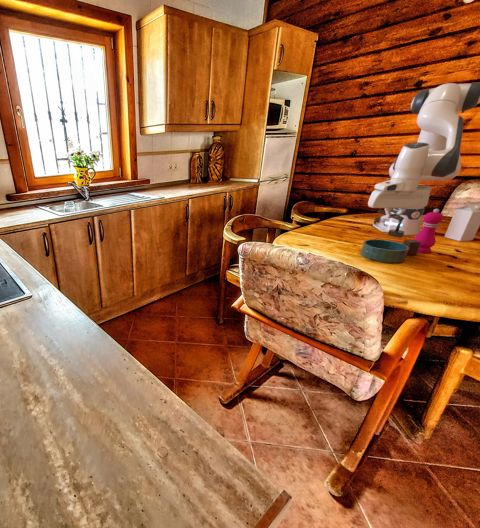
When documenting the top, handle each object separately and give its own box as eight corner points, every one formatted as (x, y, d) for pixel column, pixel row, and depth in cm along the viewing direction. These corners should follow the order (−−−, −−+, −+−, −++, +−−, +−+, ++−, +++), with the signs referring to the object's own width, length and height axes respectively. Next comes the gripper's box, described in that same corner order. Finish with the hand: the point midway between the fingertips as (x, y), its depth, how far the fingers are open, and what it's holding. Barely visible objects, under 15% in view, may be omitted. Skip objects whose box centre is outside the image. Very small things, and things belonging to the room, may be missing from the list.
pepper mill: (422, 248, 133) (438, 206, 125) (435, 253, 126) (454, 210, 118) (405, 248, 134) (420, 207, 126) (418, 253, 127) (435, 210, 119)
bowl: (353, 251, 134) (356, 239, 132) (389, 251, 131) (393, 239, 129) (372, 263, 120) (377, 250, 118) (413, 264, 117) (418, 251, 115)
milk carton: (443, 237, 145) (459, 200, 137) (456, 236, 145) (472, 200, 138) (459, 241, 138) (476, 203, 131) (472, 240, 139) (490, 202, 131)
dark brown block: (399, 252, 130) (404, 239, 127) (409, 252, 129) (414, 239, 126) (405, 255, 126) (410, 242, 123) (415, 255, 125) (421, 242, 123)
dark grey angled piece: (367, 226, 132) (373, 209, 129) (379, 226, 131) (384, 209, 128) (392, 237, 116) (399, 218, 113) (405, 237, 116) (412, 218, 112)
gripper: (426, 183, 116) (414, 216, 121) (370, 184, 120) (361, 216, 125) (438, 185, 110) (425, 219, 116) (380, 186, 114) (370, 219, 119)
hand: (392, 217), depth 120 cm, fingers closed on dark grey angled piece
